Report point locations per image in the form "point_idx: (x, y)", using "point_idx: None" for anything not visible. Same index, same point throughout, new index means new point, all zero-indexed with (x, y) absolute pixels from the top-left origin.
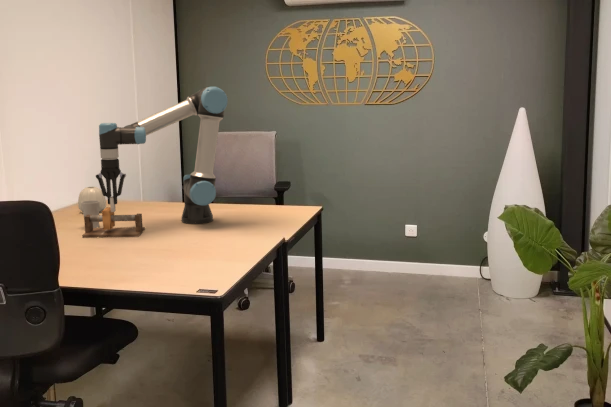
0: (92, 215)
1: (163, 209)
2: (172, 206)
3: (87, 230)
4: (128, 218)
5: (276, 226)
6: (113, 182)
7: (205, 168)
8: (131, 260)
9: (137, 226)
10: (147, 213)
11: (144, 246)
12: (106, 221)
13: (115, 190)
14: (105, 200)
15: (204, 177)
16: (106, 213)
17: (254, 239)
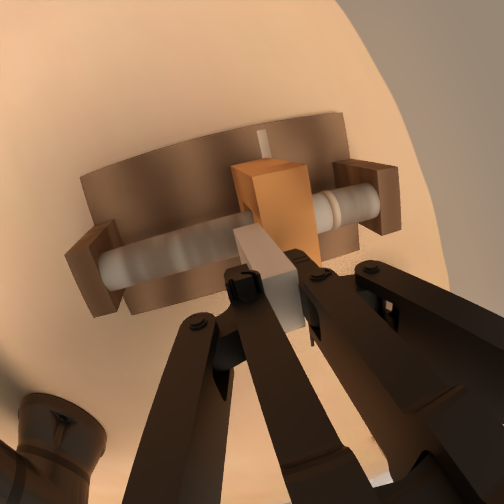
0: (389, 309)
1: (242, 486)
2: (236, 499)
3: (346, 161)
4: (139, 241)
5: None
6: (312, 450)
7: None
8: None
9: (98, 229)
10: (263, 462)
11: (10, 44)
12: (257, 165)
13: (243, 348)
14: (384, 455)
15: None
16: (267, 169)
17: None
